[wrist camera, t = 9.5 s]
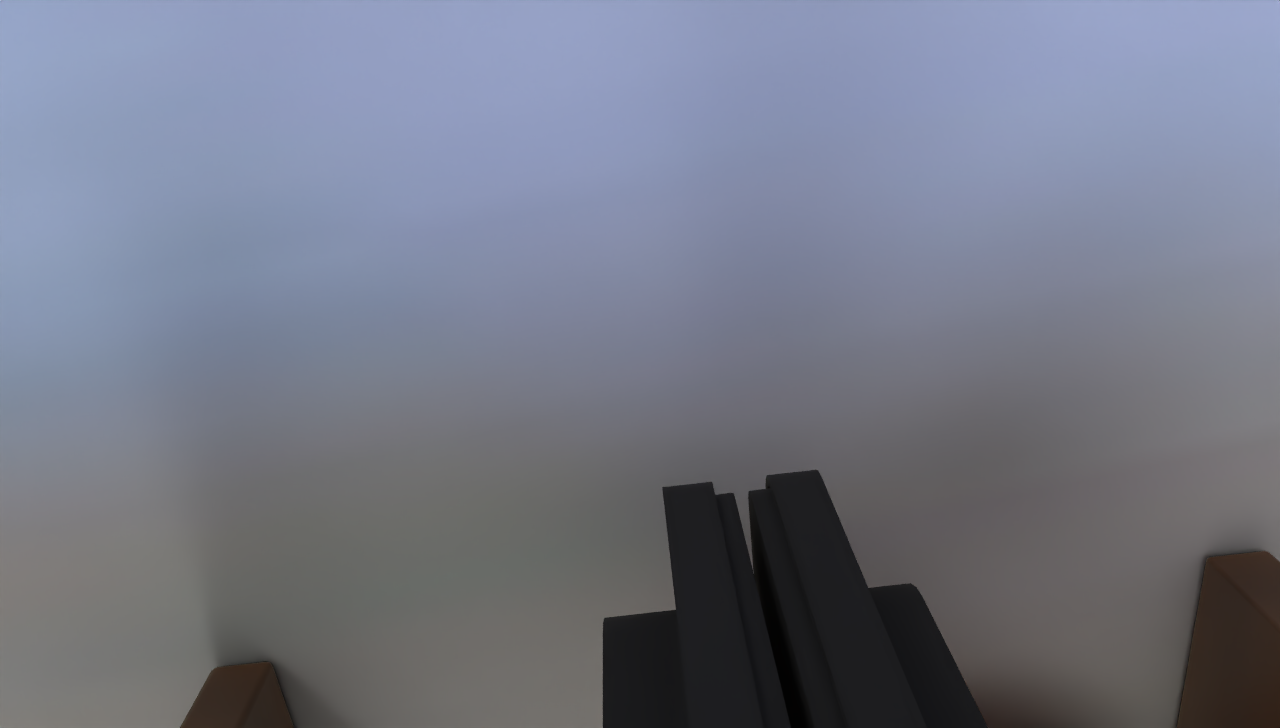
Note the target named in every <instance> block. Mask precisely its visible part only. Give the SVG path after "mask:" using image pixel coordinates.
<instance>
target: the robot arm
mask: <svg viewBox="0 0 1280 728" xmlns="http://www.w3.org/2000/svg"><path fill="white" fill-rule="evenodd" d="M663 496H664V505H665V514H666V523H667V532H668V541H669V550H670V559H671V568H672V577H673V586H674V595H675V604H676V610H671V611H662V612H653V613H644V614H635V615H626V616H617V617H609V618H604V622H603V728H988V727H987V725H986V723H985V721H984V719H983V717H982V715H981V713H980V711H979V709H978V707H977V705H976V703H975V701H974V699H973V697H972V695H971V693H970V691H969V689H968V687H967V685H966V683H965V681H964V679H963V677H962V675H961V673H960V671H959V669H958V667H957V665H956V663H955V661H954V659H953V657H952V655H951V653H950V651H949V649H948V647H947V645H946V643H945V641H944V639H943V637H942V635H941V633H940V631H939V629H938V627H937V625H936V623H935V621H934V619H933V617H932V615H931V613H930V611H929V609H928V607H927V605H926V603H925V601H924V599H923V597H922V595H921V594H920V592H919V591H918V589H917V587H915V586H914V585H912V584H911V583H910V584H901V585H892V586H883V587H874V588H868V586H867V584H866V582H865V579H864V577H863V574H862V572H861V570H860V567H859V565H858V563H857V560H856V558H855V555H854V553H853V551H852V548H851V546H850V544H849V541H848V539H847V536H846V534H845V532H844V529H843V527H842V525H841V522H840V520H839V517H838V515H837V513H836V510H835V508H834V506H833V503H832V501H831V498H830V496H829V494H828V491H827V489H826V487H825V484H824V482H823V479H822V477H821V475H820V473H819V471H818V470H810V471H802V472H793V473H784V474H775V475H767V477H766V489H762V490H753V491H749V494H748V499H749V515H750V528H751V542H752V556H753V569H754V574H753V570H752V566H751V562H750V558H749V553H748V549H747V545H746V541H745V537H744V533H743V529H742V525H741V521H740V517H739V512H738V508H737V504H736V500H735V496H734V493H727V494H718V495H715V492H714V488H713V484H712V482H705V483H697V484H688V485H679V486H670V487H663Z"/></svg>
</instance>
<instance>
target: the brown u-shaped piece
mask: <svg viewBox="0 0 1280 728" xmlns="http://www.w3.org/2000/svg"><path fill="white" fill-rule="evenodd" d="M180 728H294V726H293V723H292V721H291V718H290V715H289V712H288V709H287V706H286V703H285V700H284V698H283V695H282V692H281V689H280V686H279V683H278V680H277V677H276V674H275V672H274V669H273V666H272V664H271V663H270V662H258V663H249V664H240V665H231V666H221V667H217V668H214V669H213V670H212V671H211V672H210V674H209V676H208V678H207V680H206V681H205V683H204V685H203V687H202V689H201V691H200V692H199V694H198V696H197V698H196V700H195V701H194V703H193V705H192V707H191V709H190V710H189V712H188V714H187V716H186V718H185V720H184V721H183V723H182V725H181V727H180ZM1177 728H1280V562H1279V561H1278V560H1277V559H1276V558H1275V557H1274V556H1273V555H1271V554H1270V553H1269V552H1267V551H1260V552H1251V553H1242V554H1232V555H1223V556H1214V557H1209V558H1207V560H1206V565H1205V571H1204V576H1203V582H1202V588H1201V593H1200V599H1199V605H1198V610H1197V616H1196V622H1195V628H1194V633H1193V639H1192V645H1191V650H1190V656H1189V662H1188V667H1187V673H1186V679H1185V684H1184V690H1183V696H1182V701H1181V707H1180V713H1179V718H1178V724H1177Z"/></svg>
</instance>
